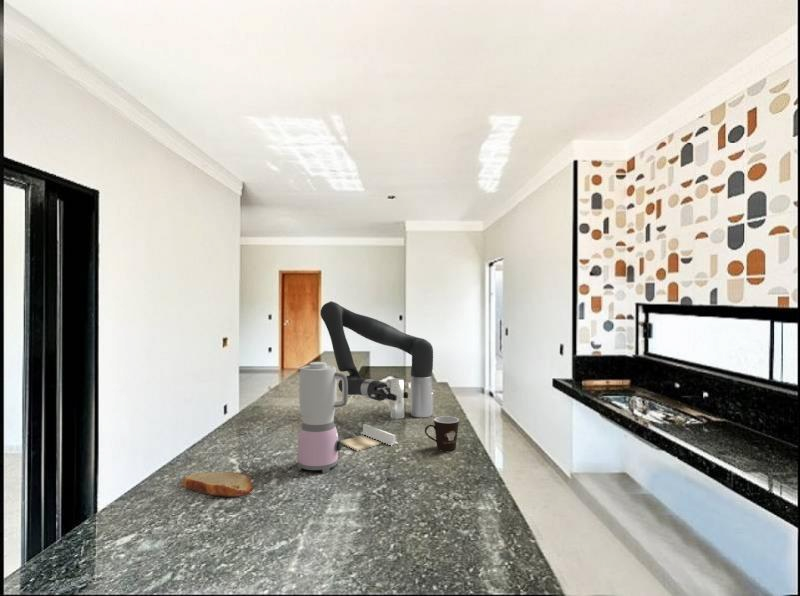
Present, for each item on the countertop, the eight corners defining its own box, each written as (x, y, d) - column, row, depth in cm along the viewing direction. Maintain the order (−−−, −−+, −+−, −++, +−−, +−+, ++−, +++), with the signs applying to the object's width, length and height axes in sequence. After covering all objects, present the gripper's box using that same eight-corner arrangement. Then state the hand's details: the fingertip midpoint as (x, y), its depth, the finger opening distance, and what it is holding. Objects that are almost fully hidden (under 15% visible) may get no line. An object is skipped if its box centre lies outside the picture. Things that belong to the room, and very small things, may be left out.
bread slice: (181, 482, 132) (181, 469, 132) (247, 472, 140) (247, 459, 139) (179, 509, 116) (179, 494, 116) (254, 496, 123) (254, 482, 123)
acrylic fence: (367, 432, 177) (367, 423, 177) (397, 444, 164) (397, 434, 164) (360, 434, 175) (360, 424, 175) (391, 446, 162) (391, 436, 162)
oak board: (362, 437, 171) (362, 435, 171) (380, 444, 163) (380, 442, 163) (339, 443, 165) (339, 440, 165) (357, 451, 157) (357, 449, 157)
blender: (290, 472, 138) (290, 365, 138) (306, 458, 150) (306, 359, 150) (341, 476, 135) (341, 367, 135) (353, 461, 147) (353, 361, 147)
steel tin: (398, 414, 179) (397, 377, 178) (407, 416, 175) (406, 379, 174) (387, 416, 175) (387, 379, 175) (396, 419, 171) (396, 381, 171)
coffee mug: (458, 444, 163) (458, 416, 163) (459, 453, 155) (459, 423, 155) (425, 443, 164) (425, 415, 164) (424, 452, 156) (424, 422, 156)
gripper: (359, 382, 181) (386, 389, 168) (387, 377, 190) (415, 383, 177) (359, 402, 181) (387, 410, 168) (388, 396, 190) (416, 403, 178)
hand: (401, 396), depth 173 cm, fingers closed on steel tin, 5 cm apart
